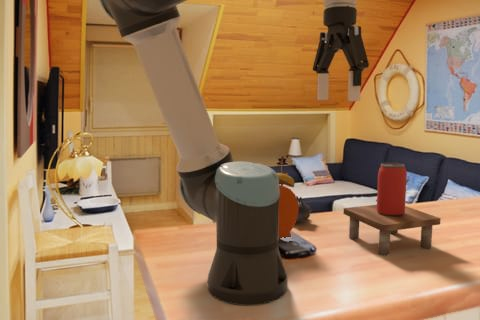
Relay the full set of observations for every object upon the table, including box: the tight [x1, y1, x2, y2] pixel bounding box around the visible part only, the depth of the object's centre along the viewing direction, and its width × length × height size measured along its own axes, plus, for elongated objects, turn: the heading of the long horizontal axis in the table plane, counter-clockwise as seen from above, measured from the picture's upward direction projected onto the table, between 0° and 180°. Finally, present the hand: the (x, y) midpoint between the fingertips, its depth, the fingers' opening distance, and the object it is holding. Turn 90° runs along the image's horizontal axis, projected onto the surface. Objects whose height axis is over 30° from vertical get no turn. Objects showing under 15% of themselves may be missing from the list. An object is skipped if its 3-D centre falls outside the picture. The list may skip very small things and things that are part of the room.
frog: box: [295, 195, 313, 222], centre depth 132 cm, size 10×12×8 cm
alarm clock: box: [260, 160, 299, 240], centre depth 113 cm, size 13×6×20 cm, turn 123°
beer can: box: [376, 162, 408, 216], centre depth 111 cm, size 7×7×12 cm
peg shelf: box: [342, 204, 442, 256], centre depth 113 cm, size 16×16×8 cm
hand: (337, 100), depth 110 cm, fingers open, 13 cm apart
